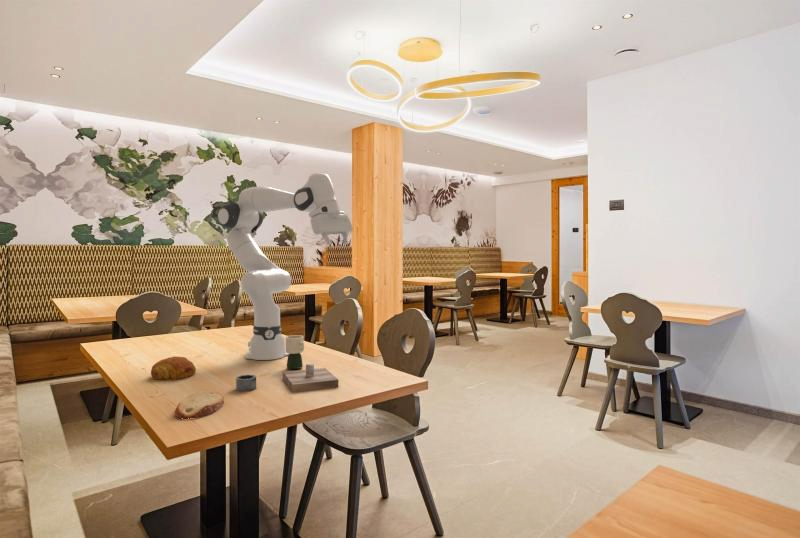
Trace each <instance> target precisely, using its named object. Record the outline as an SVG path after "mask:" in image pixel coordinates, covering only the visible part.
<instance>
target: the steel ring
mask: <svg viewBox="0 0 800 538" xmlns="http://www.w3.org/2000/svg"><path fill="white" fill-rule="evenodd" d="M256 389H257V376H256V375H255V374H243V375H242V374H241V375H239V376H236V377H235V390H236V391H237V392H243V393H244V392H251V391H254V390H256Z"/></svg>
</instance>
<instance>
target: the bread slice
mask: <svg viewBox="0 0 800 538" xmlns="http://www.w3.org/2000/svg"><path fill="white" fill-rule="evenodd" d="M224 400H225V399H224V396H223V394H221V393H220V392H216V391H212V390H201V391H196V392H195V393H193V394H191V395H189V396H187V397H186V398H184V399H183V400H181V401H180V402H179V403H178V404H177V406H176V408H175V411H174V414H175V416H176V417H177V418H178V417H179V418H178V419H180V418H183V419H188V418H189V419H190V418H197V417H200V418H202V417H201V416H203V417H205V416H204V415H206V416H208V415H207V414H209V415H212V414H214V413H217V412H218V411H219V410H220V409H222V408H223V405H224V404H225V401H224ZM213 412H214V413H213ZM211 413H212V414H211Z"/></svg>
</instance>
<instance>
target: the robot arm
mask: <svg viewBox="0 0 800 538" xmlns="http://www.w3.org/2000/svg"><path fill="white" fill-rule="evenodd" d="M333 185H334V184H333V181H332V180H331V178H330V176H329V174H326V173H325V172H324V173H323V172H317V173H316V172H315V173H312V174H310V175H309V176H308V179H307V181H306V183H305V184H304V185H303V186H302V187H301V188H298V189H297V190H296V191H295V193H293V192H288V191H286V190H281V189H278V188H275V187H269V186H252V187H247V188H245V189H243V190H242V191H241V192H240V193H239V197H238V201H234V200H231V201H230V202H228V203H226V204H223V205H222V206H221V207H220V208H219V209H218V211H217V215H216V216H217V218H216V219H217V222H218V224H219V225H220V226H221V227H223V228H225V229H229V230H230V229H231V230H230V231H229V232H228V233H227V235H226V242H227V244H228V246H229V249H230V250H231V252H232V254H233V256H234V257H235V259H236V260H237V262H238V263H239V265H240V266H241V268H242V269H243V270H244V271H246V273H244V274H243V275H242V278H241V280H240V285H241V290H242V291H243V292H244V293H245V294H246V295H247V296H248V297H249V299H250V301H251V303H252V307H253V317H254V318H253V319H254V323H253V327H252V333H253V335H252V337H251V339H250V340H249V341H247V347H249V348H248V350H247V352H246V354H245V358H244V359H246V360H256V361H257V360H258V361H269V360H278V359H282V358H284V357H286V356H287V357H288V355H289V353H286V337H284V335H282V324H281V308H280V306H279V305H278V304H277V303H275V301H274V298H273V294H280V293H282V292H285V291H287V290H288V289H290V288H291V287H290V286H291V284H292V277H291V275H290V273H289V272H288V271H286V270H284V269H283V268H281V267H279V266H278V265H276V264H275V263H274V262H273V261H272V260H271V259H269V258H268V257H267V256H266V255H265V253H264V252H263V251H262V250H261V248H260V247H259V245H258V243H257V242H256V241H255V239H254V238H253V236H252V234H253V233H256V232H257V230H258V229H259V228H260V227H261V226H262V225H263V222H264V213H265V212H276V211H280V210H287V209H296V210H298V211H300V212H304V213H305V212H309V213H308V216H309V219H310V224H311V229H312V232H313V233H314V235H318V236H319V235H321V236H322V238H323V240H324V241H325V243H326V245H327V246H330V245H333V242H332V241H333V240H332V239H330V237H329V235H337V234H338V235H341V236H342V239H341V242H342V244H343V245H347V244H349V241H348V237H349V236H348V235H349V233H352V232H353V230H354V227H353V225H352V222H351V219H350V218H349V216H348V214H347V213H345V211H341V210H340V207H339V202H338V200H337V198H336V195H335V194H336V193H335V188H334V186H333Z"/></svg>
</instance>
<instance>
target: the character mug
mask: <svg viewBox="0 0 800 538" xmlns="http://www.w3.org/2000/svg"><path fill="white" fill-rule="evenodd" d="M304 343H305V341H304V335H301V334H299V335H297V334H293V335H292V334H291V335H287V336H285V351H286V353H289V355H287V360H286V368H287V369H289V370H293V369H296V370H299V369H300V368H301V369H302V368H303V367H304V365H303V357H302V353H304V350H305V344H304Z"/></svg>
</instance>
